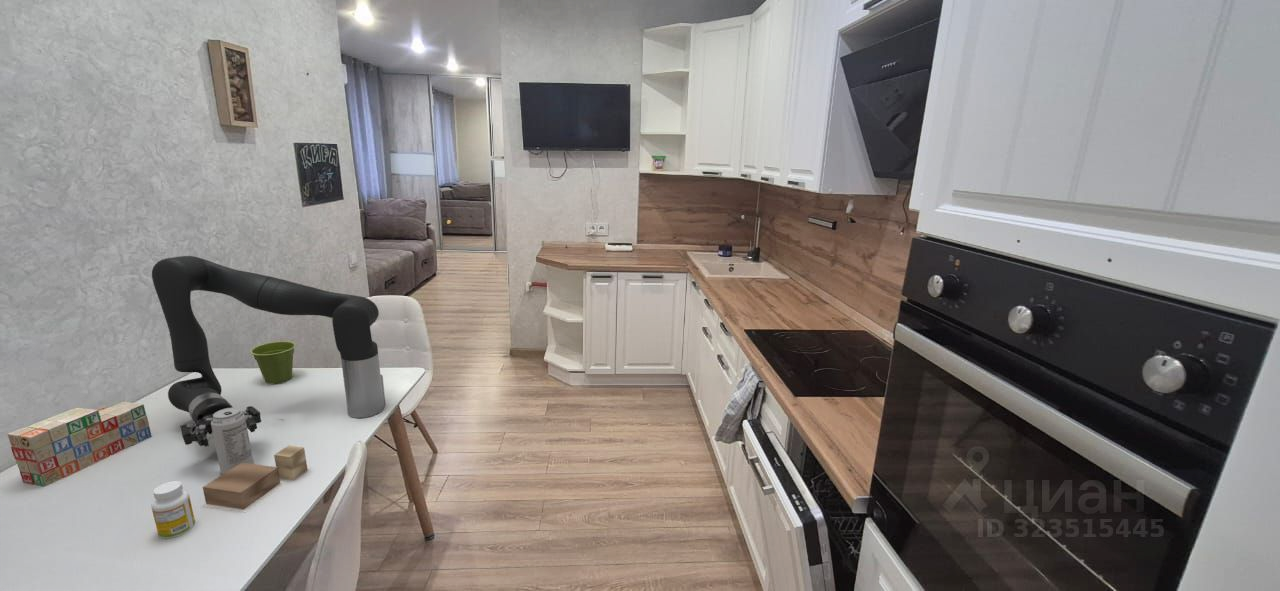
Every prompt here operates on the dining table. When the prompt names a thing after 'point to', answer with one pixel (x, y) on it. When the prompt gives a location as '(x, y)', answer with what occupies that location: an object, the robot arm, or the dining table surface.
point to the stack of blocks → (76, 440)
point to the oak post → (291, 462)
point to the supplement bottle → (172, 510)
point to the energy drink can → (231, 438)
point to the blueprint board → (249, 505)
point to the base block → (241, 485)
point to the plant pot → (275, 360)
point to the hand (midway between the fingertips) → (230, 435)
